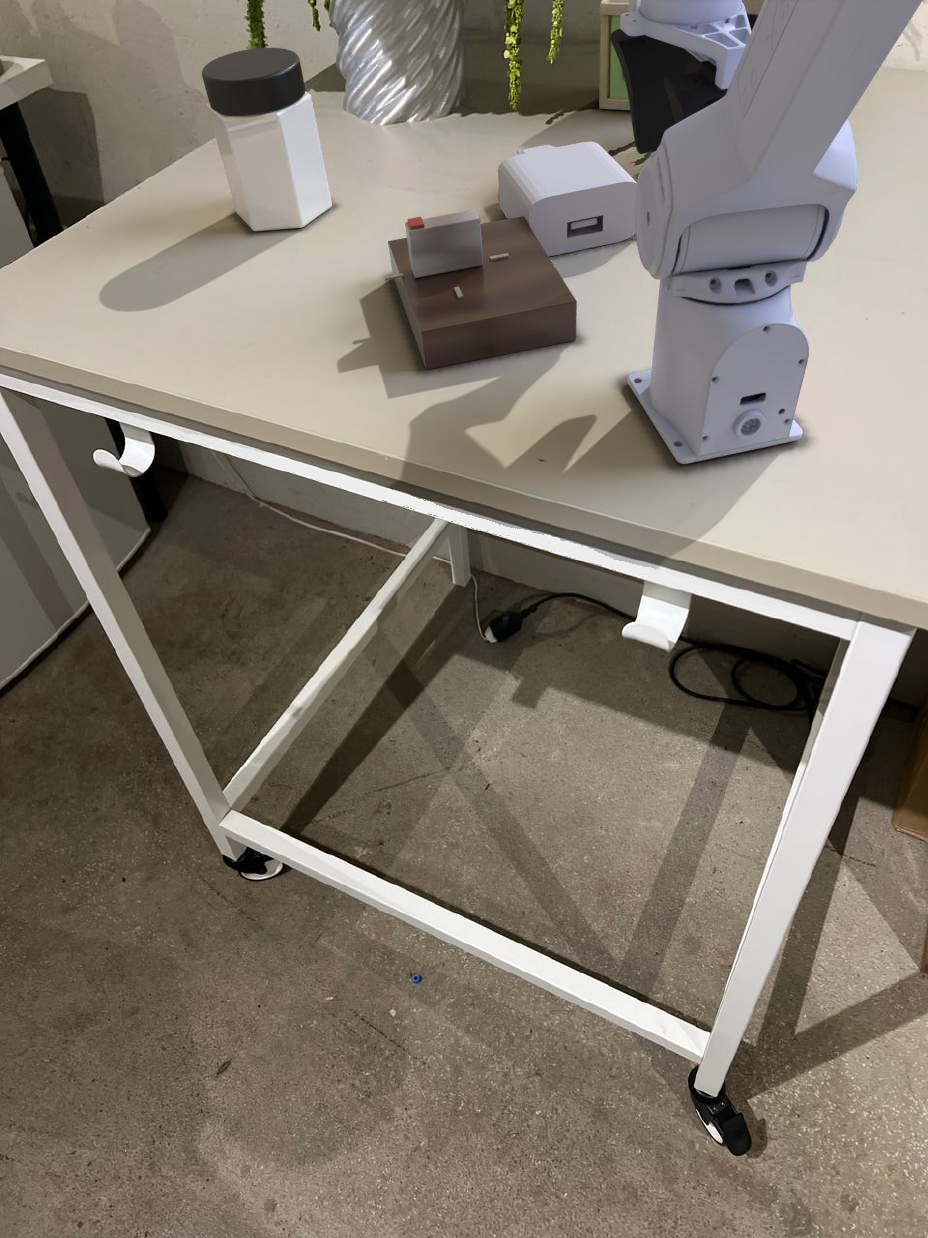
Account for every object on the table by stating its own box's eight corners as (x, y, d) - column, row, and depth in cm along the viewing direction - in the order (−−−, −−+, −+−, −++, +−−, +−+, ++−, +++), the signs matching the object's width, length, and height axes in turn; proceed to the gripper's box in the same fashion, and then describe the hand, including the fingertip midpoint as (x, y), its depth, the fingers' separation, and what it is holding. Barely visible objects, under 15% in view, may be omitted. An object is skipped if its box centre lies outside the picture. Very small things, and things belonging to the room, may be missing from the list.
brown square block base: (576, 340, 62) (577, 298, 60) (409, 373, 61) (403, 332, 59) (524, 252, 71) (523, 213, 69) (378, 279, 70) (372, 241, 68)
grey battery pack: (478, 255, 65) (475, 205, 62) (483, 265, 64) (480, 214, 61) (410, 268, 65) (404, 218, 62) (414, 278, 63) (408, 227, 61)
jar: (337, 187, 82) (310, 42, 73) (327, 227, 77) (297, 75, 68) (245, 195, 83) (206, 51, 74) (229, 234, 78) (185, 85, 69)
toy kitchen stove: (594, 111, 90) (599, -45, 80) (616, 85, 94) (622, -66, 84) (676, 117, 87) (691, -44, 77) (694, 90, 91) (711, -66, 81)
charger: (576, 168, 81) (637, 238, 71) (481, 187, 80) (530, 260, 70) (577, 113, 77) (642, 178, 67) (477, 132, 76) (528, 200, 66)
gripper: (586, -105, 51) (580, 140, 61) (681, -45, 42) (656, 232, 52) (699, -123, 52) (675, 123, 62) (818, -68, 42) (766, 210, 53)
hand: (673, 172), depth 57 cm, fingers open, 7 cm apart
